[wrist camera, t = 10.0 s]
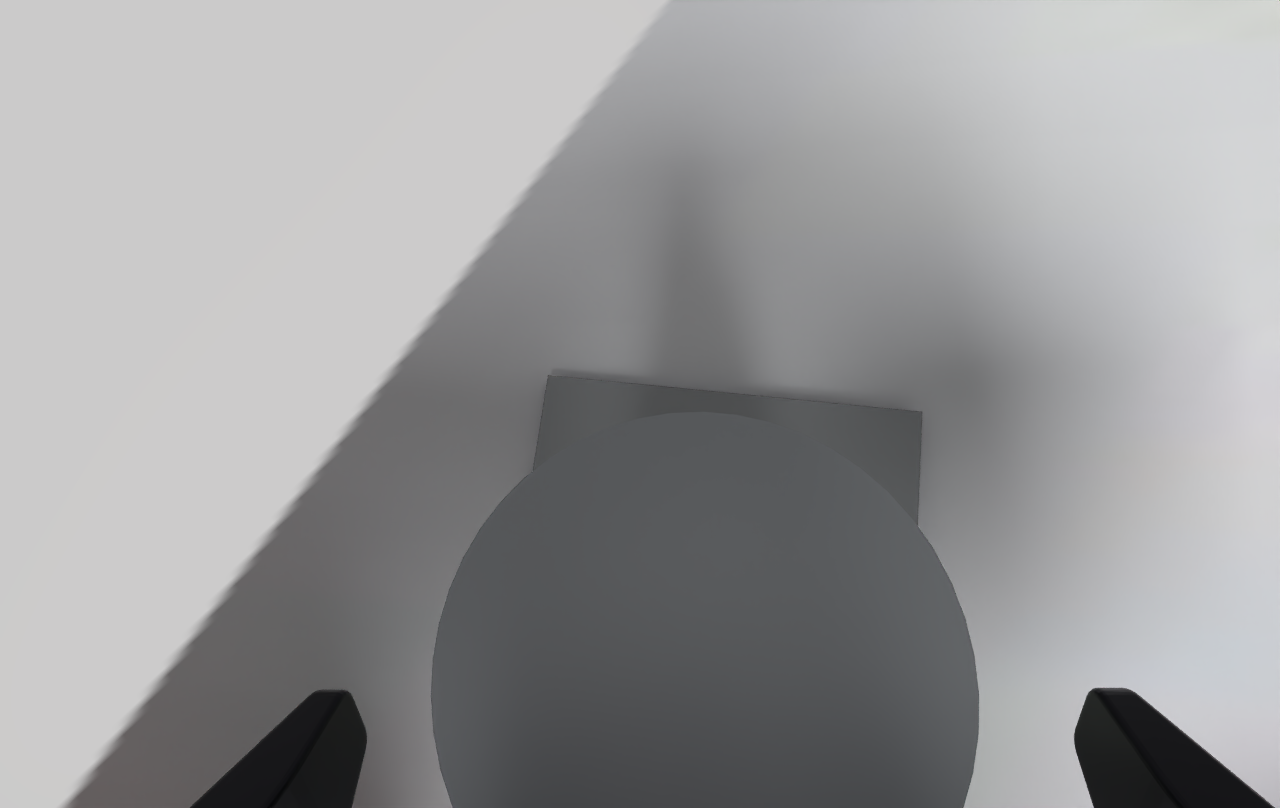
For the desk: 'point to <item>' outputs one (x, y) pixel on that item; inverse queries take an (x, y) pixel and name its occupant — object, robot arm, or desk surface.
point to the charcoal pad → (853, 431)
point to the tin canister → (703, 633)
